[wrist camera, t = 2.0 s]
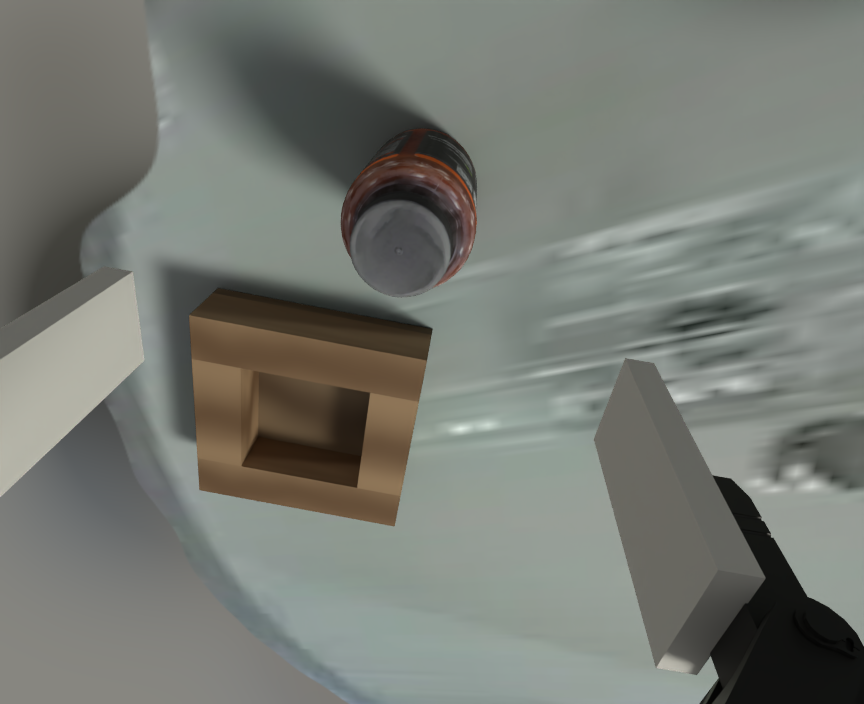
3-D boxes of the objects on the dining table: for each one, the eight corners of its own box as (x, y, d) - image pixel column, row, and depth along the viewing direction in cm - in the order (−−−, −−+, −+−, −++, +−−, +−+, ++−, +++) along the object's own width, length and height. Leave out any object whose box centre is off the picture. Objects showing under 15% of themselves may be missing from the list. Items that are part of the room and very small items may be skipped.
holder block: (218, 287, 35) (189, 315, 32) (432, 329, 35) (426, 360, 32) (222, 452, 42) (199, 490, 39) (401, 486, 42) (394, 526, 39)
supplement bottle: (357, 208, 32) (301, 283, 22) (395, 106, 29) (350, 141, 19) (450, 250, 33) (436, 342, 23) (496, 156, 30) (503, 214, 20)
